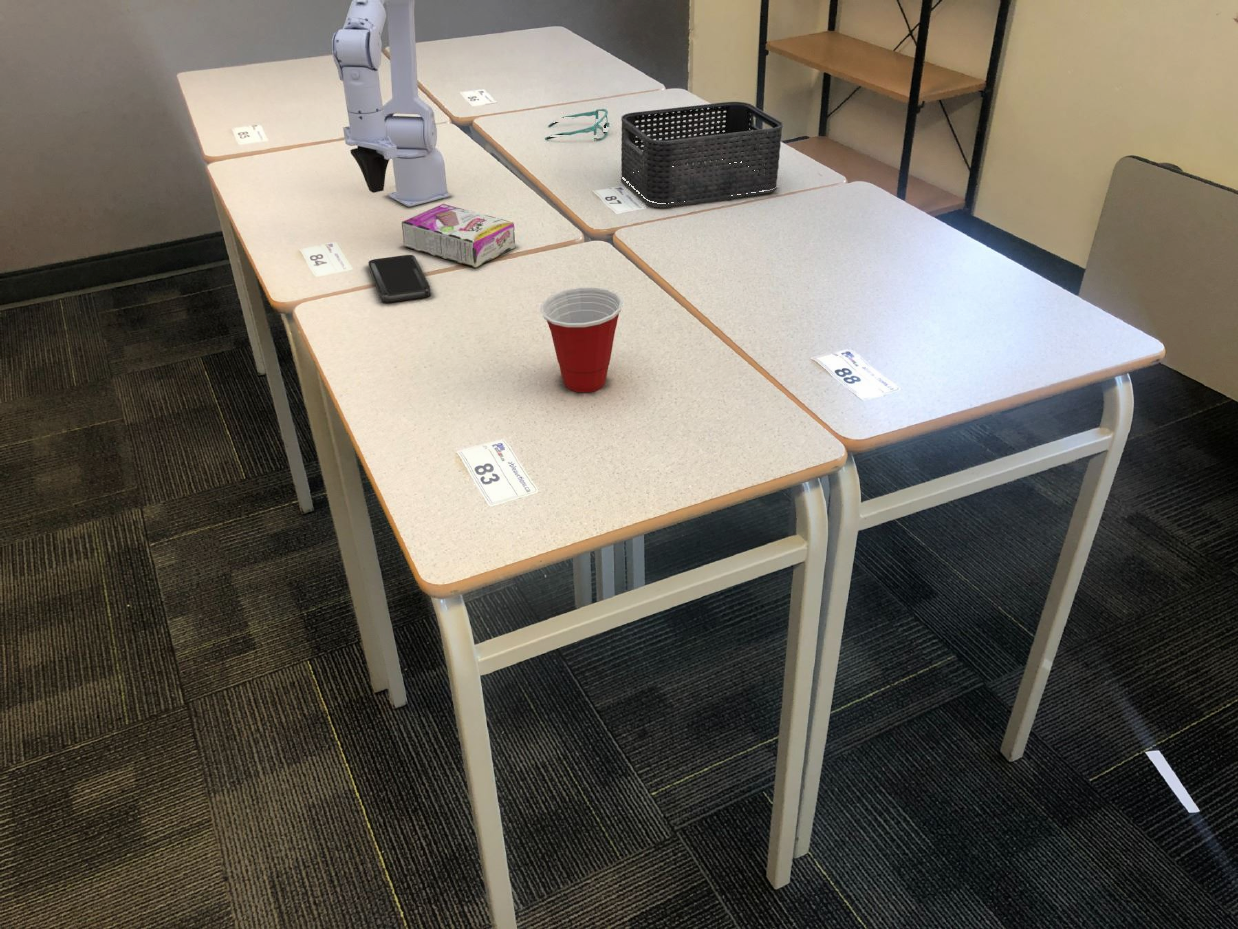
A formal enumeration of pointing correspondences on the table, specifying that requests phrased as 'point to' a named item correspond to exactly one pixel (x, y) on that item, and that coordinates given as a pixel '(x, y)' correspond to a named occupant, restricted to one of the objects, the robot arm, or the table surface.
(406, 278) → the phone
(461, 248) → the candy bar box
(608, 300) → the plastic cup
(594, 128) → the sunglasses
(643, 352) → the table surface
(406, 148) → the robot arm
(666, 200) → the storage bin
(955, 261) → the table surface
